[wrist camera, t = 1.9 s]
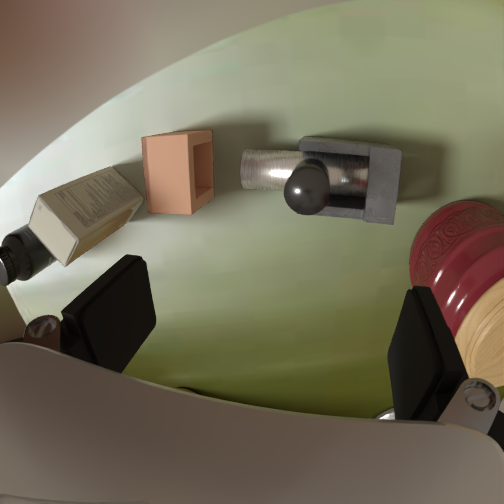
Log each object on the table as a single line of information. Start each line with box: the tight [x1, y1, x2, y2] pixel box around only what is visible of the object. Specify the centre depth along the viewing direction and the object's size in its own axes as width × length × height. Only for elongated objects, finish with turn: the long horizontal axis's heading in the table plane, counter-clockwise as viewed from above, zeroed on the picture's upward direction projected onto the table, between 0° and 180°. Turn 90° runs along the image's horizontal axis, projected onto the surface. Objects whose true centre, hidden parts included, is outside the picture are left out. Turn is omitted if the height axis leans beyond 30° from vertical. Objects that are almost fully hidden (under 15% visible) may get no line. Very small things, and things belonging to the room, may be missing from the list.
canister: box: [409, 200, 504, 387], centre depth 21 cm, size 13×13×18 cm
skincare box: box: [28, 166, 144, 267], centre depth 30 cm, size 6×4×12 cm
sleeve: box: [297, 136, 402, 225], centre depth 26 cm, size 8×6×6 cm
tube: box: [240, 149, 369, 215], centre depth 24 cm, size 12×4×10 cm, turn 90°
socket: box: [142, 130, 214, 215], centre depth 29 cm, size 4×7×6 cm, turn 0°
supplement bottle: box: [0, 223, 57, 286], centre depth 35 cm, size 7×7×12 cm
